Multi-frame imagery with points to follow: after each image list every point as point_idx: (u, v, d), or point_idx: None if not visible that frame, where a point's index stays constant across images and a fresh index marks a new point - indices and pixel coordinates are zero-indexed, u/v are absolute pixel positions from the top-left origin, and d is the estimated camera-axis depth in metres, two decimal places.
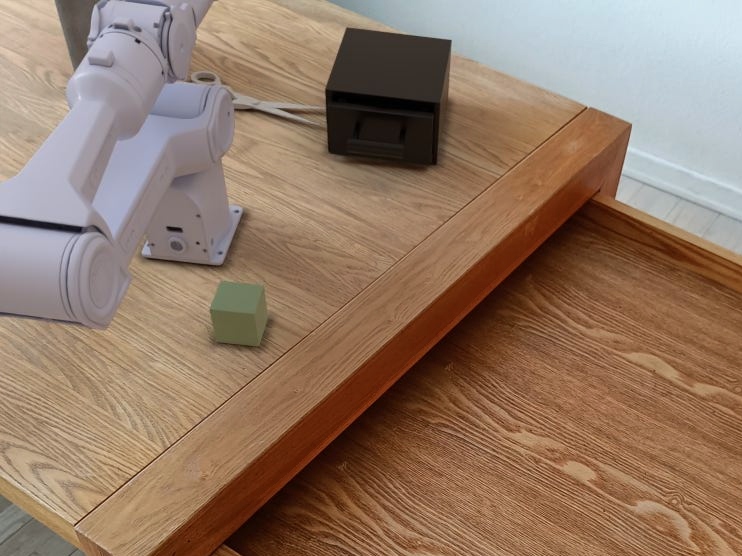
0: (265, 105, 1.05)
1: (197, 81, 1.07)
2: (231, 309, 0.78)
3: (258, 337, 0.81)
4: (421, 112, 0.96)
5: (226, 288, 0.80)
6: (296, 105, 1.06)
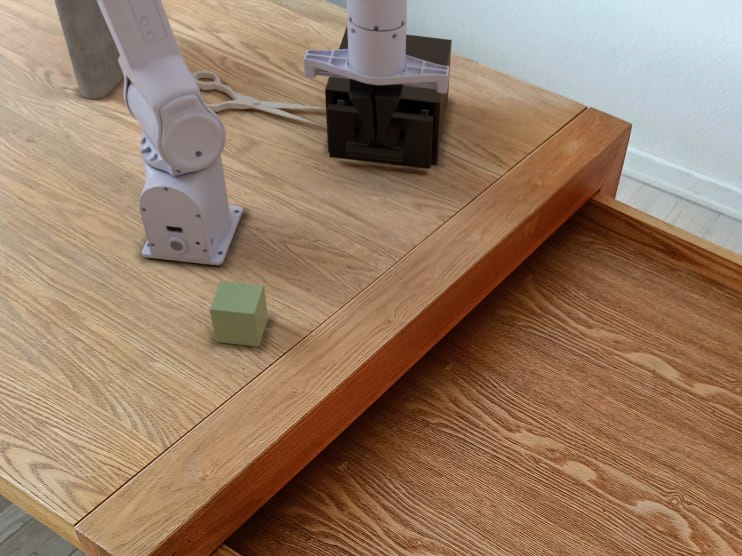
0: (265, 105, 1.05)
1: (197, 81, 1.07)
2: (231, 309, 0.78)
3: (258, 337, 0.81)
4: (420, 115, 0.96)
5: (226, 288, 0.80)
6: (296, 105, 1.06)
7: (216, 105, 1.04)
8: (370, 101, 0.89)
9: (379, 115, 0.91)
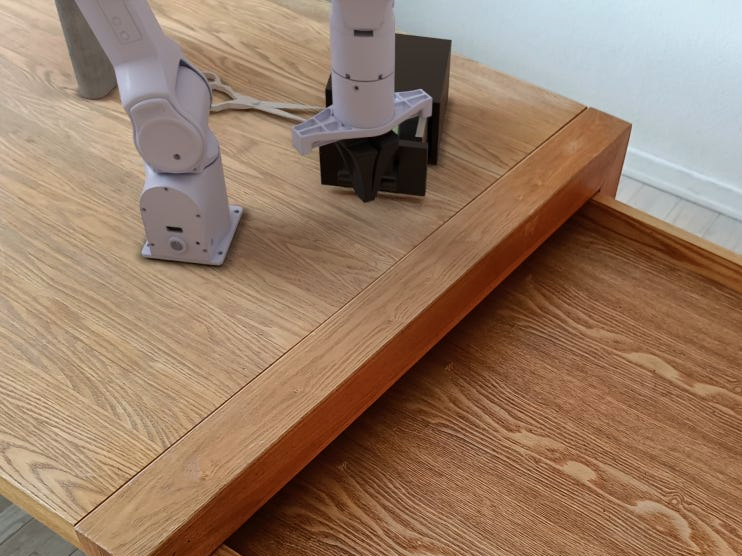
0: (265, 105, 1.05)
1: None
2: None
3: None
4: (415, 142, 0.92)
5: None
6: (296, 105, 1.06)
7: (216, 105, 1.04)
8: (376, 152, 0.84)
9: (379, 164, 0.86)
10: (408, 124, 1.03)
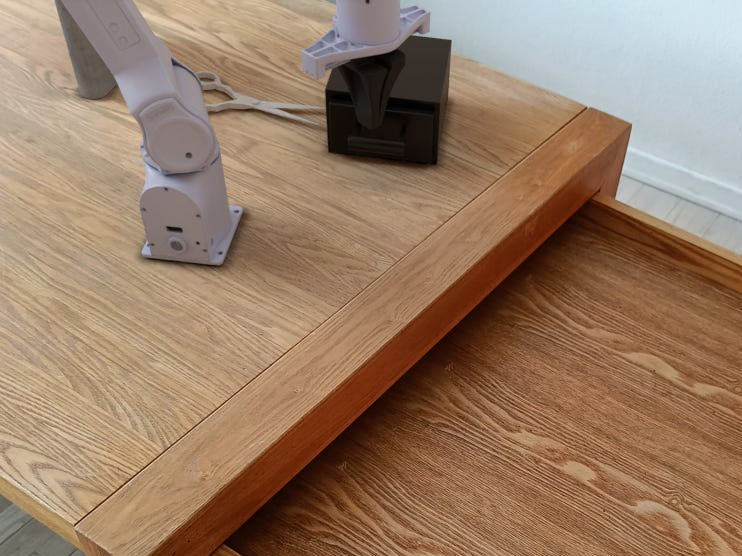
0: (265, 105, 1.05)
1: None
2: None
3: None
4: (422, 110, 0.96)
5: None
6: (296, 105, 1.06)
7: (216, 105, 1.04)
8: (386, 71, 0.82)
9: (386, 85, 0.84)
10: None
